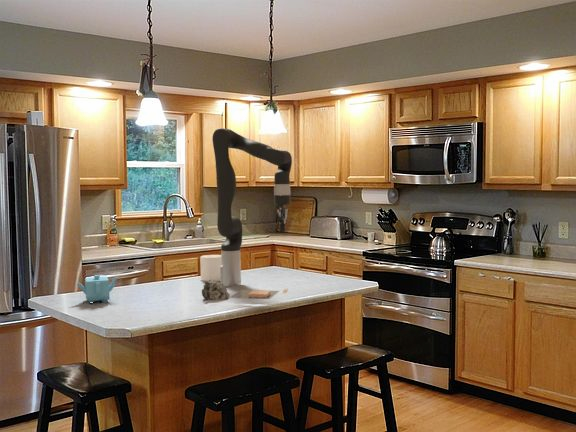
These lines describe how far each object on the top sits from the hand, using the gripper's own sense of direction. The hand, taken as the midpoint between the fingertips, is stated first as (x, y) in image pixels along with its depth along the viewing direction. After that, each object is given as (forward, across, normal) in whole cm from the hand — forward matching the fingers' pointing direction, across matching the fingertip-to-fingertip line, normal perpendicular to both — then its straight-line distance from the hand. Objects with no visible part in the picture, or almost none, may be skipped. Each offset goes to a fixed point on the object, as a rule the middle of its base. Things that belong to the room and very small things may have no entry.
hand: (282, 231), depth 296 cm
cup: (+27, -22, -42) cm, 55 cm away
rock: (+27, +27, -23) cm, 45 cm away
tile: (+25, +18, -6) cm, 31 cm away
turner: (+27, +12, +3) cm, 30 cm away
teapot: (+27, +38, -73) cm, 87 cm away
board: (+27, +18, -9) cm, 34 cm away
